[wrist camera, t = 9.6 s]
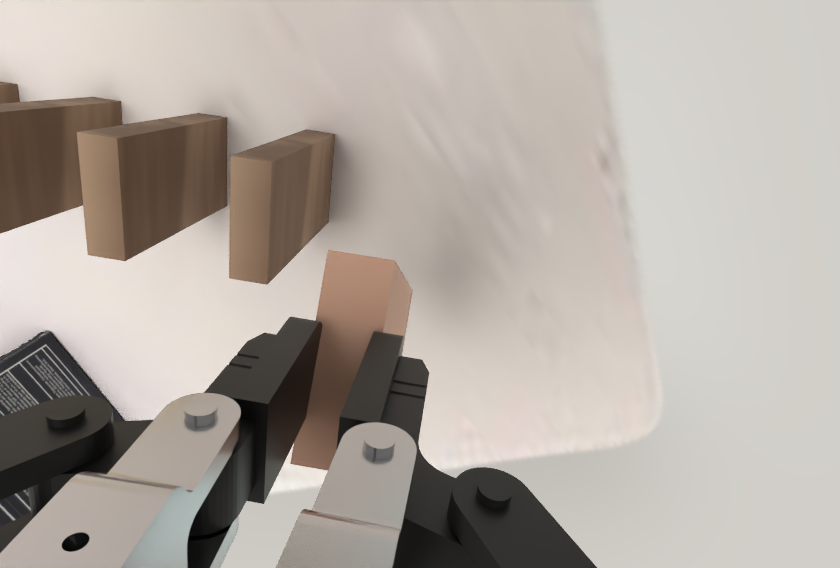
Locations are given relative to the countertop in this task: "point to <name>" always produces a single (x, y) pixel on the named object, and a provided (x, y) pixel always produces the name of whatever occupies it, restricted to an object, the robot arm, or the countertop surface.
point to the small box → (38, 393)
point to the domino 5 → (347, 342)
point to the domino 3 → (150, 181)
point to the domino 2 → (45, 155)
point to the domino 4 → (278, 202)
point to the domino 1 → (8, 93)
